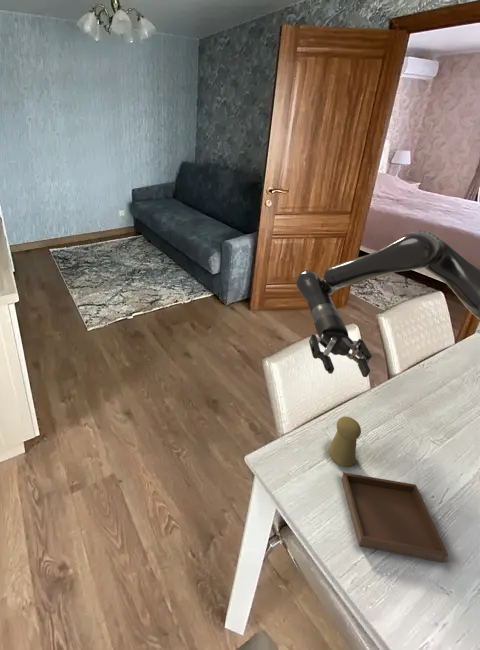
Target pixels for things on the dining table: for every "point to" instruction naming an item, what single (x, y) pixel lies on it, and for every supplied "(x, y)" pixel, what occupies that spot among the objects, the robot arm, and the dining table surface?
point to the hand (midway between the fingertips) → (349, 373)
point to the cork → (345, 442)
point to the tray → (392, 517)
